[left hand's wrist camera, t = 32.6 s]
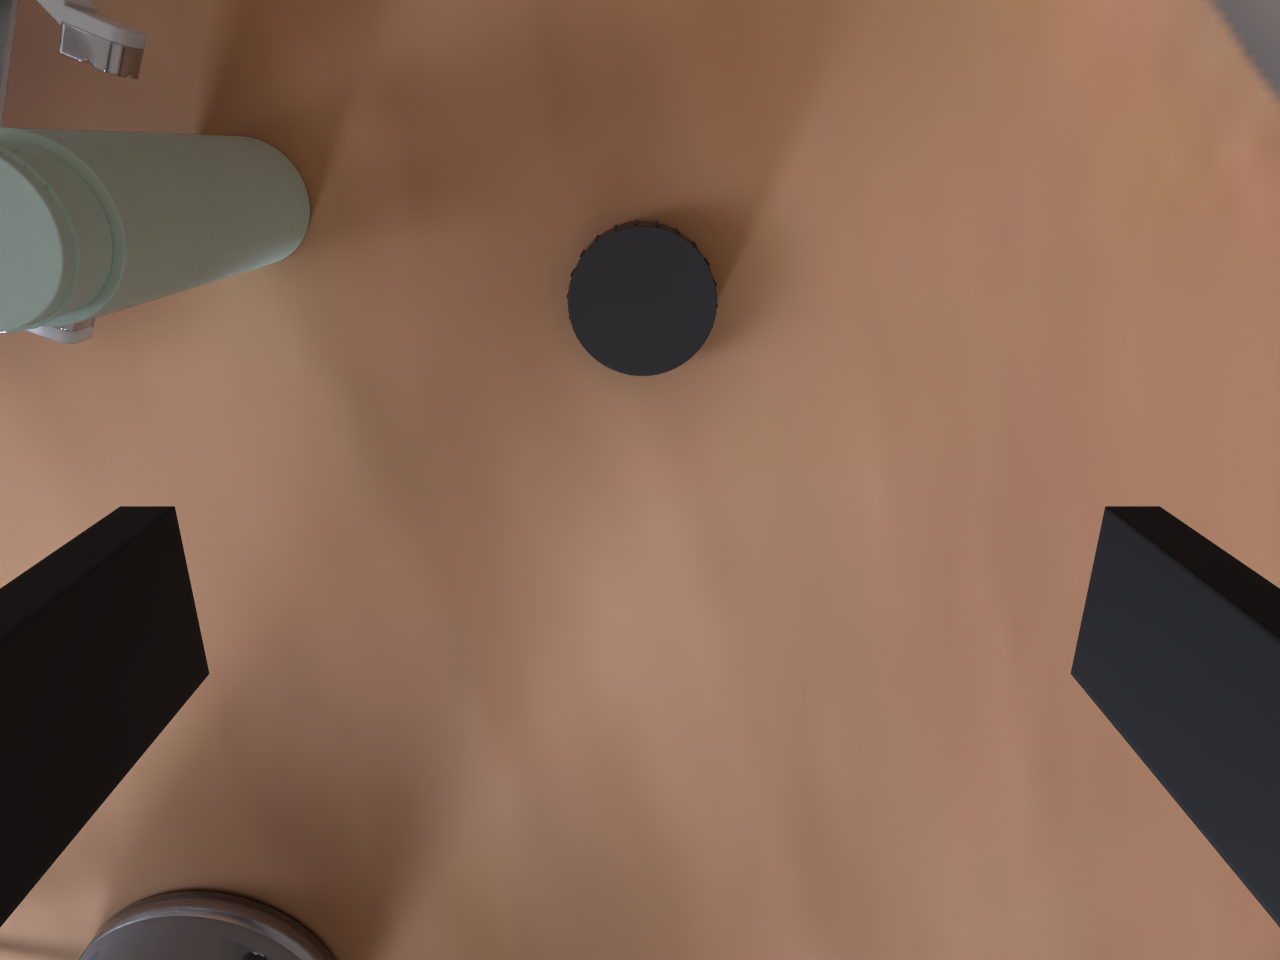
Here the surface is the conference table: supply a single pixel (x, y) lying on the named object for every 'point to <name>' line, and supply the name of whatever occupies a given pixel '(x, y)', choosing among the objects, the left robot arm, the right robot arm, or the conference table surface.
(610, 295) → the lid
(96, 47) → the right robot arm
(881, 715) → the conference table surface
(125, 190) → the jar
